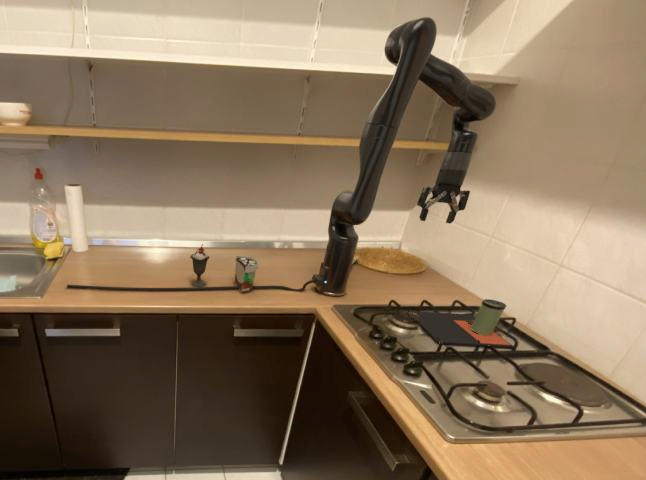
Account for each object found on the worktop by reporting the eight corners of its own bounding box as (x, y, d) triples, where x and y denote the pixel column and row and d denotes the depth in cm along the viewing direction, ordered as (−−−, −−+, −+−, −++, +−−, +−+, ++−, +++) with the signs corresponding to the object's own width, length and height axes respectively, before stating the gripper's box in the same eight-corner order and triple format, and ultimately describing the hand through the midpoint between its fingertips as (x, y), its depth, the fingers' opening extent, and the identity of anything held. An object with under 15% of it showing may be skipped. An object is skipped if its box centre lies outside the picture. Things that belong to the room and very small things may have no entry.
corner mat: (437, 344, 105) (439, 341, 104) (406, 313, 122) (407, 310, 122) (512, 348, 104) (514, 345, 104) (470, 316, 122) (471, 314, 121)
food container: (260, 294, 131) (264, 266, 126) (242, 295, 130) (246, 266, 125) (249, 281, 142) (252, 254, 136) (233, 281, 141) (236, 255, 136)
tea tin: (476, 335, 108) (490, 306, 104) (465, 326, 113) (478, 298, 108) (496, 336, 108) (511, 307, 104) (484, 327, 113) (498, 299, 108)
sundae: (199, 289, 133) (202, 246, 126) (185, 283, 137) (187, 242, 129) (211, 284, 137) (214, 242, 130) (197, 279, 141) (199, 238, 134)
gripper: (469, 171, 124) (450, 222, 131) (425, 166, 125) (408, 218, 131) (484, 171, 117) (463, 225, 124) (437, 166, 118) (419, 221, 125)
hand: (435, 221), depth 128 cm, fingers open, 8 cm apart
